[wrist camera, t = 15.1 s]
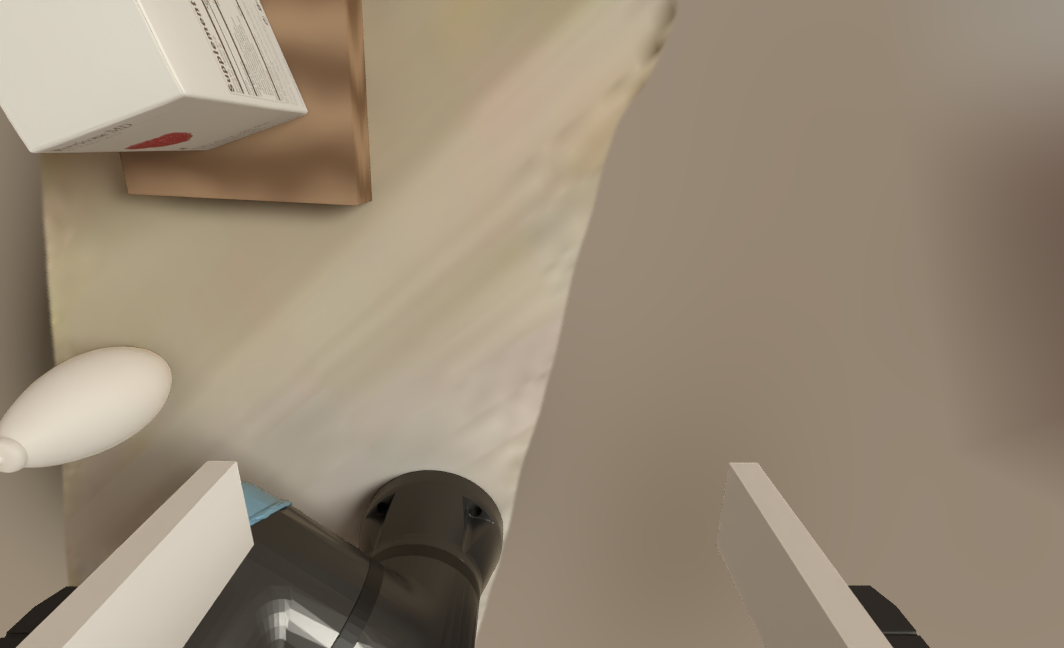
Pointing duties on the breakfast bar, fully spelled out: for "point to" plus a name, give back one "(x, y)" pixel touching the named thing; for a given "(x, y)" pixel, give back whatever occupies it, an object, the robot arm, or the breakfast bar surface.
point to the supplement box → (141, 74)
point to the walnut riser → (286, 124)
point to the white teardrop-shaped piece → (83, 407)
